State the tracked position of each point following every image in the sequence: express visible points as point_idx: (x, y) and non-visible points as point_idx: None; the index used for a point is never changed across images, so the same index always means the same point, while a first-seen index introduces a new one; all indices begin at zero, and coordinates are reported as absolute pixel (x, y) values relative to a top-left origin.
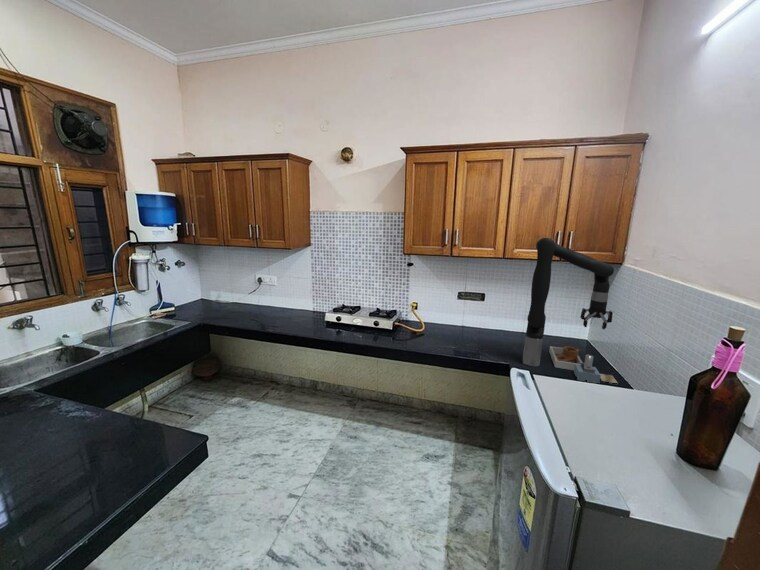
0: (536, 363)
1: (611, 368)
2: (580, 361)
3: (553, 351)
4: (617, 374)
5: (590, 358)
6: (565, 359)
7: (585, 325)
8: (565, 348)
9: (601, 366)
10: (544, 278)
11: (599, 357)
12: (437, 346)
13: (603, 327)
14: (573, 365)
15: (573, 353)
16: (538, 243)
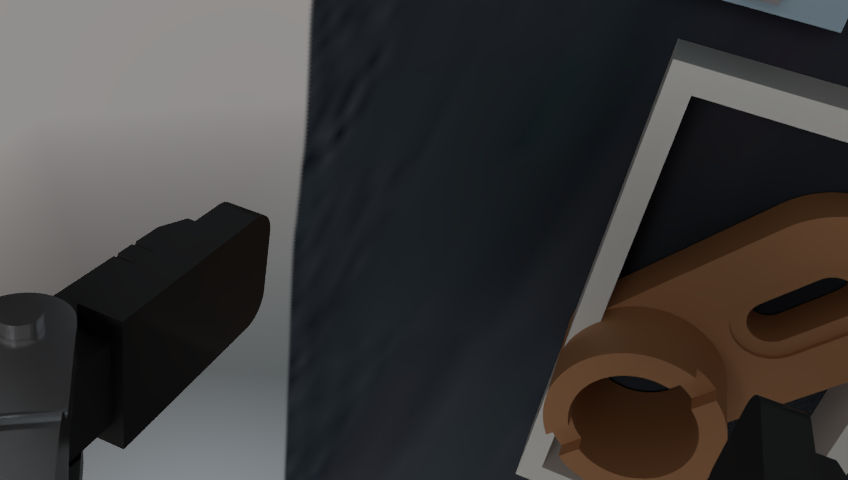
0: None
1: (308, 155)
2: (649, 175)
3: (836, 454)
4: (313, 17)
5: None
6: (789, 267)
7: (813, 448)
8: (703, 445)
9: (383, 194)
10: None
11: (308, 378)
12: None
13: (231, 238)
14: (800, 89)
15: (648, 340)
16: None
